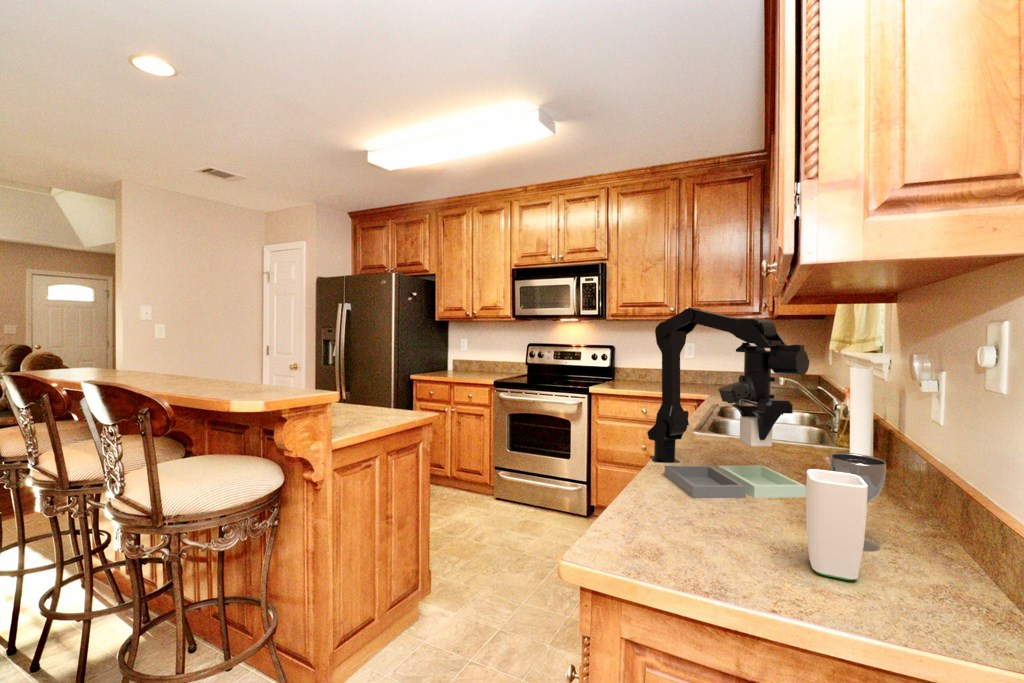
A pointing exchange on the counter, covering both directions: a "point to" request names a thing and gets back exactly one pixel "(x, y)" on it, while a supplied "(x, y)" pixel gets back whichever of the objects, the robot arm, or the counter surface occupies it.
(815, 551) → the cup
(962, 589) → the counter surface
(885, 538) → the counter surface
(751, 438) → the stone block
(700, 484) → the bin
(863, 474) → the wine glass
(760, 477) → the bin
